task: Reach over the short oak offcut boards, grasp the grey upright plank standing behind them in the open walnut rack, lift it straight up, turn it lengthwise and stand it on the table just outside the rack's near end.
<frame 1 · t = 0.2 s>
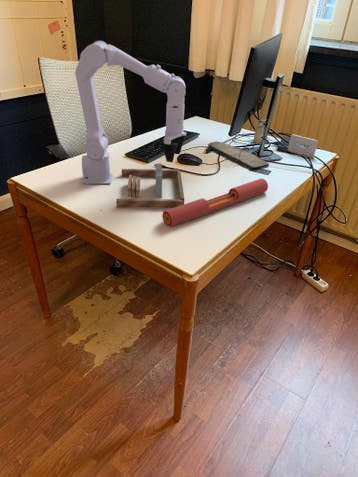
hand: (173, 157, 124), 10 cm above the table, tool pointing down, fingers open, 7 cm apart
lighter: (258, 141, 171), on the table
cassette: (300, 154, 159), on the table
grey upright plank: (158, 190, 124), resting in rack
rack: (150, 190, 124), on the table
blood vessel: (218, 207, 117), on the table
stone slab: (236, 157, 154), on the table
offcut stack: (134, 190, 124), on the table
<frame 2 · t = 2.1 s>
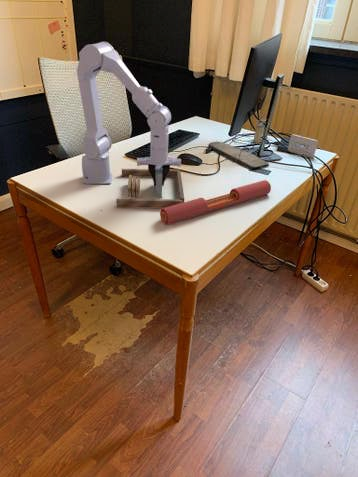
hand: (158, 184, 123), 2 cm above the table, tool pointing down, fingers closed on grey upright plank, 2 cm apart
grey upright plank: (158, 190, 124), resting in rack, touching gripper
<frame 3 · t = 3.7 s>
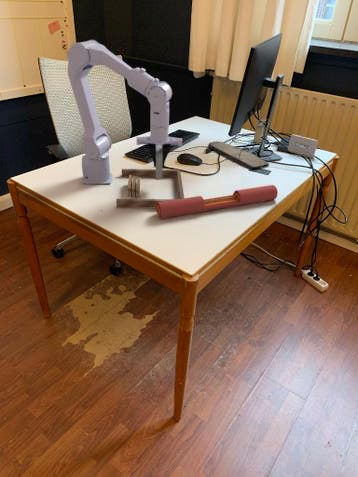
hand: (158, 165, 119), 9 cm above the table, tool pointing down, fingers closed on grey upright plank
grey upright plank: (158, 173, 120), point 7 cm above the table, touching gripper
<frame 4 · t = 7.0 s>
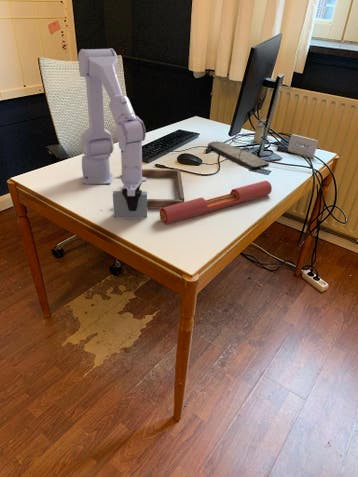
hand: (133, 206, 108), 3 cm above the table, tool pointing down, fingers open, 5 cm apart
grey upright plank: (130, 215, 110), on the table
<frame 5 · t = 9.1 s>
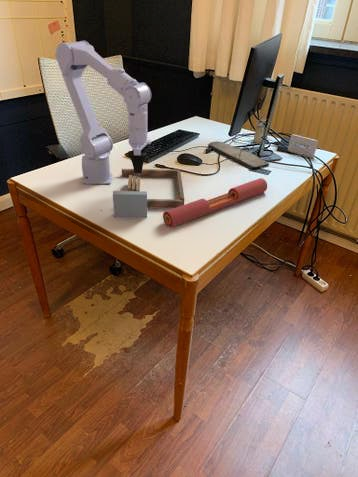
hand: (138, 167, 117), 9 cm above the table, tool pointing down, fingers open, 7 cm apart
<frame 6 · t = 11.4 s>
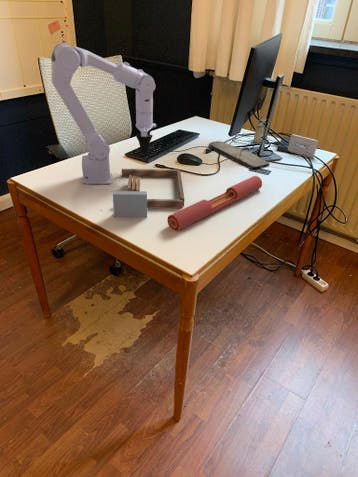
hand: (144, 149, 130), 9 cm above the table, tool pointing down, fingers open, 7 cm apart
at the end: grey upright plank inside the target area (1.3 cm from its centre), on the table; offcut stack moved 0.2 cm from its start; the gripper is holding nothing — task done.
